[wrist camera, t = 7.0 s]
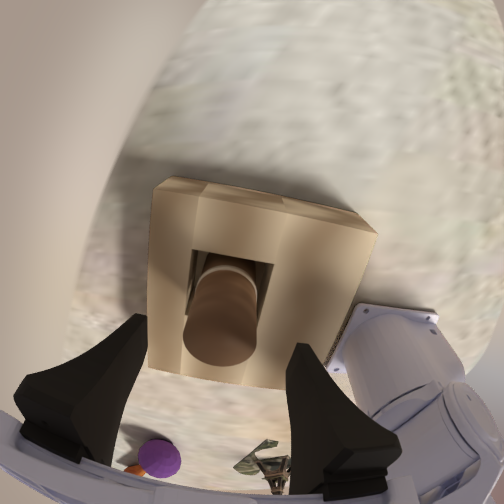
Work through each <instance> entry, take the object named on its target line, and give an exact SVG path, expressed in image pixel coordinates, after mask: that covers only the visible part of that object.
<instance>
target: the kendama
mask: <svg viewBox="0 0 504 504" xmlns="http://www.w3.org/2000/svg"><path fill="white" fill-rule="evenodd" d="M138 460H139V464H140V465H136V466H131V467H127V468H126V469H125V470H124V472H127V473H131V474H134V475H138V476H143V475H144V474H145V473H148V474H149V475H151V476H153V477H156V478H167V477H170V476H172V475H174V474H176V473H177V471H178V470H179V469H180V465H181V457H180V453H179V451H178V450H177V448H176V447H175V446H174V445H172V444H171V443H169V442H167V441H164V440H161V439H152V440H150V441H147V442H146V443H145V444H144V445H143V446H142V447H141V448H140V449H139V453H138Z"/></svg>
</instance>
